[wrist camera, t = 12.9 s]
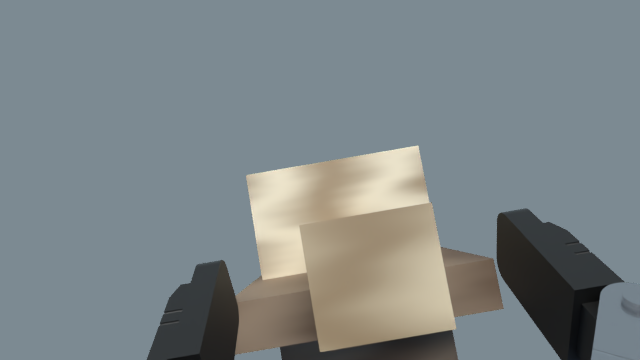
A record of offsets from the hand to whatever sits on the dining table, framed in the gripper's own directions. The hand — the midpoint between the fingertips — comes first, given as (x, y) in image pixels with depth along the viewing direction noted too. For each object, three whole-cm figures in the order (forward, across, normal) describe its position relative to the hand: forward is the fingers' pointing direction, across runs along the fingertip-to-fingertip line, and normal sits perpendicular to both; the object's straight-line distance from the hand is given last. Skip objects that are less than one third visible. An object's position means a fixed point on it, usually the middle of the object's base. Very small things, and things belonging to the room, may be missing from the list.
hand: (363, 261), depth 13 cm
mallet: (+5, 0, +5) cm, 7 cm away
